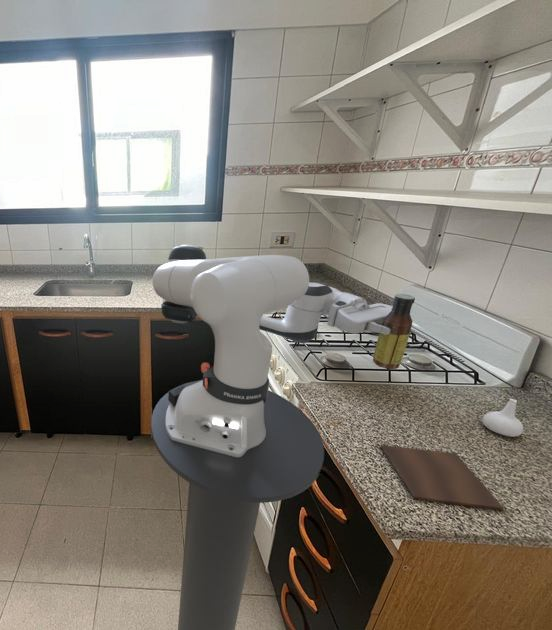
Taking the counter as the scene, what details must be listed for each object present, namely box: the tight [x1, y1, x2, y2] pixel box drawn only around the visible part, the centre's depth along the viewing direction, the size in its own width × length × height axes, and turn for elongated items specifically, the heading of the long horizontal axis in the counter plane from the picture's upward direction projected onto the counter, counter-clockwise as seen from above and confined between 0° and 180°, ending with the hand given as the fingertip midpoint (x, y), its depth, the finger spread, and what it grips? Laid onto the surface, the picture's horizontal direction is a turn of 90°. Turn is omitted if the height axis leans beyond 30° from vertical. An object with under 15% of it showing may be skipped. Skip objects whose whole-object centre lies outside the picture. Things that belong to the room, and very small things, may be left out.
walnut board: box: [380, 445, 505, 511], centre depth 67 cm, size 14×13×1 cm
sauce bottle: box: [372, 293, 416, 370], centre depth 90 cm, size 6×6×20 cm
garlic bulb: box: [482, 398, 524, 438], centre depth 77 cm, size 6×6×8 cm
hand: (399, 329), depth 89 cm, fingers closed on sauce bottle, 6 cm apart
